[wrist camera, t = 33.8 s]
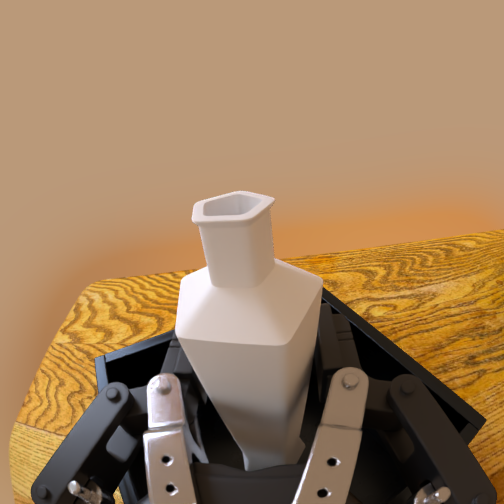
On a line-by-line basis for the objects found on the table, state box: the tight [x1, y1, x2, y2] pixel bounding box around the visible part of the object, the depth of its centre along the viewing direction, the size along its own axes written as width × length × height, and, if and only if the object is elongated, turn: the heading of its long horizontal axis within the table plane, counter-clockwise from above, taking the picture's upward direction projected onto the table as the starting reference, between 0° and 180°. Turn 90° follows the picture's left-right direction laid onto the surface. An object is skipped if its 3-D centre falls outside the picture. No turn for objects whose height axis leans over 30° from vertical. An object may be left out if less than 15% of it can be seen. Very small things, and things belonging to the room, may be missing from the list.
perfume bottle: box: [175, 191, 323, 471], centre depth 11 cm, size 5×4×15 cm
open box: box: [94, 287, 486, 504], centre depth 15 cm, size 16×16×10 cm
